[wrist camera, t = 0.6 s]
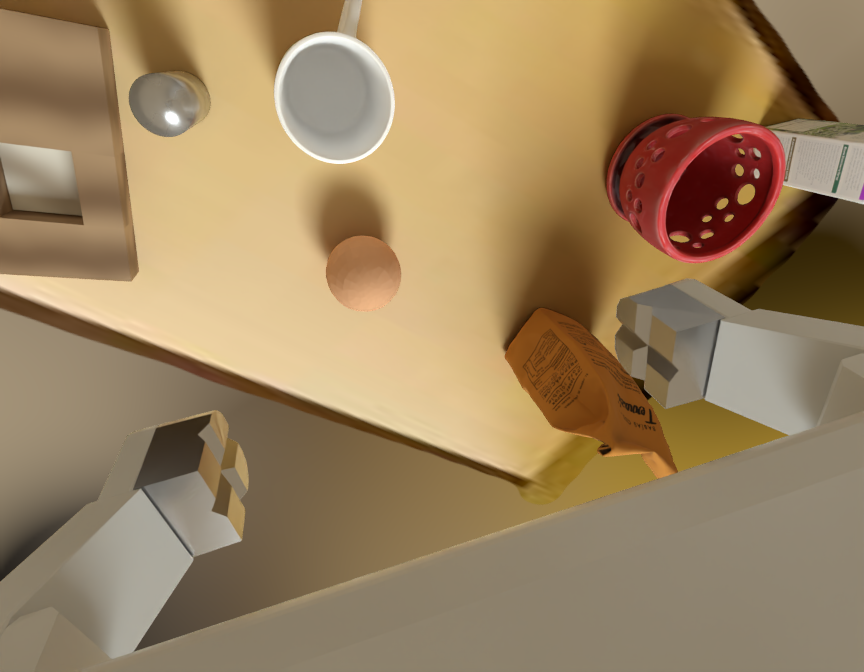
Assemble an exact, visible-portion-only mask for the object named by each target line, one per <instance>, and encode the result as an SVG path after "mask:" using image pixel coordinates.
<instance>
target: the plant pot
mask: <svg viewBox="0 0 864 672" xmlns="http://www.w3.org/2000/svg"><path fill="white" fill-rule="evenodd" d="M734 134H740V135H741V136H742V137H743V138H741V139H740V138H736V137H734V136H732V135H734ZM738 148H741V149H743V150H744V152H745V155H743V154H741V153H740V152H739V150H738ZM753 148H756V149H757V150H758V151H759V152H760V153H761V157H758V156H757V155H755V153H754V151H753ZM737 164H740V165H741V166H742V167H743V169H744V173H743V175H742V176H738V175H737V174H736V172H735V167H736V165H737ZM755 169H758V171H759V173H760V175H759V178H758V179H757V178H755V176H754V170H755ZM785 169H786V161H785V152H784V148H783V146H782V143H781V141H780V140H779V138H778V137H777V136H776V135H775V134H774V133H773V132H772V131H771V130H769V129H768V128H766V127H764V126H762V125H759V124H756V123H752V122H748V121H744V120H739V119H733V118H721V117H696V118H688V117H686V116H683V115H680V114H664V115H659V116H656V117H653V118H651V119H648V120H646V121H645V122H643V123H641V124H640V125H638V126H637V127H636V128H635V129H633V130H632V131H631V132H630V133H629V134H628V135H627V136H626V137H625V138H624V140H623V141H622V142H621V144H620V145H619V146H618V148H617V150H616V152H615V153H614V155H613V158H612V160H611V163H610V166H609V169H608V174H607V194H608V198H609V201H610V204H611V206H612V208H613V209H614V211H615V212H616V213H617V214H618V215H619V216H620V217H622V218H623V219H624V220H626V221H628V222H630V224H631V225H632V226H633V228H634V229H635V230H636V231H637V232H638V233H639V234H640V235H641V236H642V237H643V238H644V239H645V240H646V241H648V242H649V243H650V244H651V245H653V246H654V247H656V248H657V249H659V250H660V251H662V252H663V253H665V254H667V255H668V256H670V257H672V258H674V259H676V260H679V261H682V262H686V263H702V262H708V261H711V260H714V259H717V258H720V257H722V256H724V255H726V254H728V253H730V252H732V251H733V250H735V249H736V248H738V247H739V246H740V245H742V244H743V243H744V242H745V241H746V240H747V239H749V238H750V237H751V236H752V235H753V234H754V233H755V232H756V231H757V230H758V228H759V227H760V226H761V225H762V224H763V222H764V221H765V220H766V218H767V217H768V215H769V214H770V212H771V211H772V209H773V207H774V206H775V203H776V201H777V199H778V197H779V195H780V192H781V189H782V186H783V182H784V177H785ZM747 184H752V185H753V186H754V187H755V195H754V198H753V199H752V200H751V201H750V202H749V203H747V204H744V205H741V204H739V203H738V201H737V199H738V193H739V191H740V190H741V188H742V187H743V186H745V185H747ZM723 198H727V199H728V201H729V202H728V204H727V206H726V207H725V208H723V209H721V210H719V209H717V203H718V202H719V201H720V200H721V199H723ZM729 215H734V217H733V219H732V220H731V221H729V222H725V221H724V220H725V218H726V217H727V216H729ZM706 216H711V217H712V219H711V220H710V221H709V222H703V221H702V219H703V218H704V217H706ZM709 232H712V233H714V235H713V236H712V237H709V238H706V239H702V238H701V236H702V235H704V234H706V233H709ZM675 235H681V236H685V237H687V238H689V241H688V242H682V243H680V242H677V241H673V240H672V239H671V238H670V237H671V236H675ZM694 247H700V248H694Z"/></svg>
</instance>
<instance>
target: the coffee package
mask: <svg viewBox="0 0 864 672" xmlns="http://www.w3.org/2000/svg"><path fill="white" fill-rule="evenodd" d="M505 359H506V360H507V361H508V363H509V364H510V366H511V367H512V369H513V371H514V373H515V375H516V377H517V379H518V381H519V382H520V384H521V386H522V388H523V389H524V390H525V391H526V392H527V393H528V394H529V395H530V397H531V398H532V399H533V401H534V402H535V403H536V405H537V406H538V407H539V409H540V410H541V411H542V413H543V414H544V416H545V418H546V419H547V420H548V422H549V423H550V425H551V426H552V427H554V428H556V429H558V430H561V431H564V432H568V433H572V434H576V435H581V436H585V437H592V438H594V439H597V440H599V441H602V442H603V443H604V444H602V445H601V446H600V447H599V448H598V450H597V452H598V454H600V455H602V456H604V457H606V456H618V455H628V454H641V455H642V457H643V460H644V461H645V463H646V464H647V465H648V466H649V468H650V469H651V470H652V472H653V473H654V475H655V476H656V477H657V478H658V479H659V478H662V477H665V476H668V475H671V474H674V473H677V472H678V471H677V468H676V466H675V464H674V462H673V458H672V455H671V452H670V449H669V446H668V444H667V442H666V439H665V437H664V434H663V431H662V427H661V425H660V422H659V420H658V418H657V416H656V414H655V413H654V410H653V408H652V406H651V405H650V404H649V403H648V401H647V399H646V398H645V397H644V395H643V394H642V392H641V391H640V389H639V387H638V386H637V384H636V383H635V381H634V380H633V379H632V377H631V376H630V375H629V374H628V373H627V372H626V371H625V370H624V368H623V367H622V365H621V364H620V363H619V362H618V360H617V359H616V358H615V357H614V356H613V355H612V354H611V353H610V352H609V351H608V350H607V349H606V348H605V347H604V346H603V345H602V344H601V343H600V342H599V340H598V339H597V338H596V337H595V336H594V335H592V334H591V333H590V332H589V331H588V330H586V329H585V328H584V327H583V326H582V325H581V324H580V323H578V322H577V321H575V320H573V319H571V318H569V317H567V316H565V315H562V314H560V313H557V312H554V311H552V310H549V309H546V308H539V309H537V310H536V311H535V312H534V313H533V314H532V316H531V317H530V318H529V320H528V321H527V322H526V323H525V325H524V326H523V327H522V328H521V330H520V332H519V333H518V334H517V336H516V337H515V339H514V340H513V341H512V342H511V344H510V345H509V348H508V350H507V352H506V354H505Z"/></svg>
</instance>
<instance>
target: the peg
mask: <svg viewBox="0 0 864 672" xmlns="http://www.w3.org/2000/svg"><path fill="white" fill-rule="evenodd" d="M129 104H130V108H131V110H132V113H133V115H134V116H135V118H136V119H137V121H138V122H139V123H140V124H141V125H142V126H143V127H144V128H146V129H147V130H148V131H150V132H152V133H154V134H156V135H159V136H164V137H173V136H177V135H180V134H182V133H184V132H185V131H187V130H188V129H190V128H191V127H193V126H194V125H196V124H197V123H199V122H200V121H202V120H203V119H204V118H205V117H206V116H207V115H208V113H209V110H210V104H211V102H210V96H209V93H208V91H207V89H206V87H205V85H204V84H203V83H202V82H201V81H200V80H199V79H198V78H197V77H195V76H194V75H192V74H190V73H188V72H184V71H170V72H161V73H151V74H146V75H143V76H141V77H139V78H138V79H136V80H135V82H134V83H133V84H132V86H131V88H130V92H129Z"/></svg>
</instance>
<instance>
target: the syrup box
mask: <svg viewBox="0 0 864 672" xmlns="http://www.w3.org/2000/svg"><path fill="white" fill-rule="evenodd" d="M766 128H768V129H769V130H771V131H772V132H773V133H774V134H775V135H776V136H777V137H778V138H779V140H780V141H781V143H782V146H783V148H784V152H785V161H786V169H785V177H784V182H783V185H786V186H790V187H794V188H798V189H802V190H807V191H811V192H815V193H819V194H823V195H828V196H832V197H836V198H841V199H845V200H849V201H853V202H857V203H861V204H864V125H858V124H848V123H839V122H830V121H820V120H810V119H801V118H799V119H795V120H791V121H787V122H783V123H779V124H775V125H770V126H766ZM754 153H755V155H757V156H758V157H761V153H760V152H759V151H758V150H757V149H756V148H754ZM759 175H760V173H759V171H758V169H755V170H754V176H755V178H759Z"/></svg>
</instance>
